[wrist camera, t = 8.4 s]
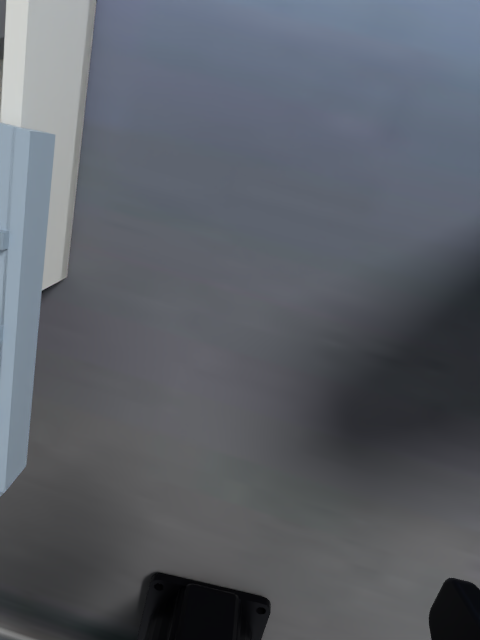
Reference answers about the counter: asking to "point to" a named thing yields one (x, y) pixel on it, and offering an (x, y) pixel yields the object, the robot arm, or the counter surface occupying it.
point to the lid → (20, 282)
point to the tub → (49, 98)
